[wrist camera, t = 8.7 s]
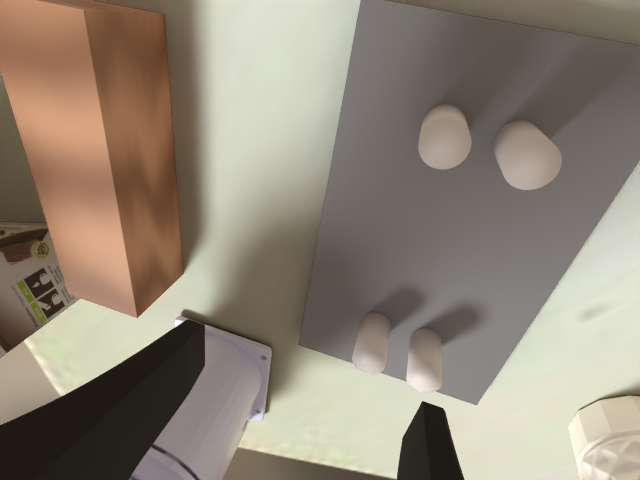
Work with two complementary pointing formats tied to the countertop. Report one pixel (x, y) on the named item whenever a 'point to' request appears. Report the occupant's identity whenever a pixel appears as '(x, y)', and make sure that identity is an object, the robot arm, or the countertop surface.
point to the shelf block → (98, 142)
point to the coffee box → (28, 282)
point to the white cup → (607, 439)
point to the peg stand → (462, 188)
